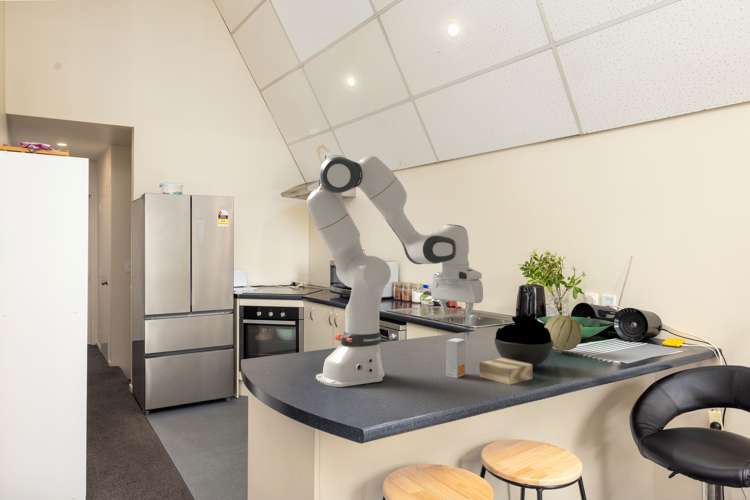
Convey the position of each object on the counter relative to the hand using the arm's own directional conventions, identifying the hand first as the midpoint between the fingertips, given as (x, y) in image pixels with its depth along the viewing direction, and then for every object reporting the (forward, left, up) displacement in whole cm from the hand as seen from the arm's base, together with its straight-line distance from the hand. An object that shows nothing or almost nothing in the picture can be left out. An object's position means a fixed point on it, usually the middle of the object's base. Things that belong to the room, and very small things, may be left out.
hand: (456, 314), depth 162 cm
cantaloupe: (+65, -1, -21) cm, 68 cm away
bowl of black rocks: (+27, -8, -21) cm, 35 cm away
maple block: (+11, -12, -21) cm, 26 cm away
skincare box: (0, 0, -21) cm, 21 cm away
